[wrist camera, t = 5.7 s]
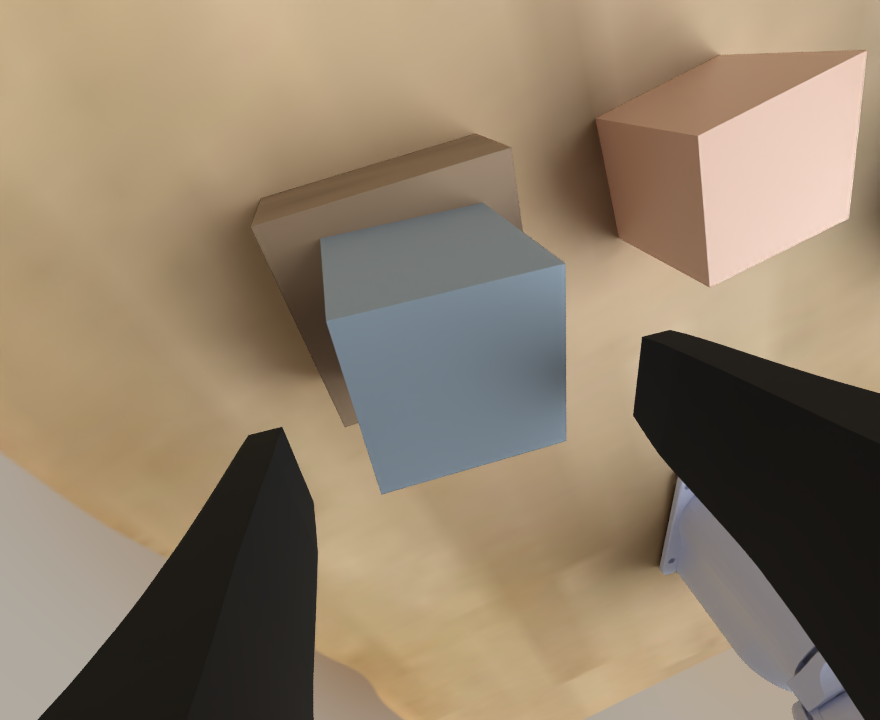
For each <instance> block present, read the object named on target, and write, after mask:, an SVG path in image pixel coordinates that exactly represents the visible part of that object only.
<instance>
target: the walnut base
mask: <svg viewBox="0 0 880 720" xmlns="http://www.w3.org/2000/svg"><path fill="white" fill-rule="evenodd" d="M479 203H484V204H486V205H487V206H488V207H490V208H491V209H492V210H494V211H495V212H496V213H498V214H499V215H501V216H502V217H503V218H505V219H506V220H507V221H509V222H510V223H511V224H513V225H514V226H515V227H517V228H518V229H519V230H521V231H522V232H523V230H522V223H521V216H520V208H519V201H518V194H517V186H516V179H515V172H514V164H513V157H512V150H511V147H509V146H506V145H504V144H501V143H498V142H496V141H493V140H491V139H488V138H486V137H483V136H481V135H478V134H473V135H469V136H466V137H463V138H460V139H456V140H453V141H450V142H446V143H443V144H440V145H436V146H433V147H430V148H426V149H423V150H420V151H416V152H413V153H410V154H406V155H403V156H400V157H396V158H393V159H390V160H386V161H383V162H380V163H377V164H373V165H370V166H367V167H363V168H360V169H357V170H353V171H350V172H347V173H343V174H340V175H337V176H333V177H330V178H327V179H323V180H320V181H317V182H313V183H310V184H307V185H304V186H300V187H297V188H294V189H290V190H287V191H284V192H280V193H277V194H274V195H270V196H267V197H264V198H261V200H260V203H259V206H258V208H257V211H256V214H255V216H254V219H253V222H252V224H251V229H252V231H253V233H254V235H255V237H256V239H257V242H258V244H259V246H260V248H261V250H262V252H263V254H264V256H265V259H266V261H267V263H268V265H269V267H270V269H271V271H272V273H273V276H274V278H275V280H276V282H277V284H278V286H279V288H280V290H281V293H282V295H283V297H284V299H285V301H286V303H287V305H288V307H289V310H290V312H291V314H292V316H293V318H294V320H295V322H296V324H297V327H298V329H299V331H300V333H301V335H302V337H303V339H304V341H305V344H306V346H307V348H308V350H309V352H310V354H311V356H312V358H313V361H314V363H315V365H316V367H317V369H318V371H319V373H320V375H321V378H322V380H323V382H324V384H325V386H326V388H327V390H328V392H329V395H330V397H331V399H332V401H333V403H334V405H335V407H336V409H337V412H338V414H339V416H340V418H341V420H342V422H343V424H344V427H347V426H350V425H353V424H356V423H358V419H357V416H356V413H355V410H354V407H353V404H352V401H351V398H350V394H349V391H348V388H347V385H346V382H345V379H344V376H343V373H342V369H341V366H340V363H339V360H338V357H337V354H336V351H335V348H334V344H333V341H332V338H331V335H330V332H329V329H328V326H327V323H326V313H325V299H324V285H323V271H322V257H321V243H320V238H324V237H329V236H333V235H338V234H343V233H347V232H352V231H356V230H361V229H365V228H370V227H374V226H379V225H383V224H388V223H393V222H397V221H402V220H406V219H411V218H415V217H420V216H424V215H429V214H433V213H438V212H443V211H447V210H452V209H456V208H461V207H465V206H470V205H474V204H479Z"/></svg>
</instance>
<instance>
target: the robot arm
mask: <svg viewBox="0 0 880 720" xmlns="http://www.w3.org/2000/svg"><path fill="white" fill-rule="evenodd" d="M633 416H634V417H635V419H636V421H637V422H638V424H639V425H640V427H641V428H642V430H643V431H644V433H645V435H646V436H647V438H648V439H649V441H650V442H651V443H652V445H653V446H654V448H655V449H656V451H657V452H658V453H659V455H660V456H661V457H662V458H663V460H664V461H665V462H666V463H667V464H668V465H669V467H670V468H671V469H672V470H673V471H674V472H675V473H676V475H677V476H678V479H677V484H676V489H675V494H674V499H673V503H672V508H671V513H670V518H669V523H668V528H667V533H666V538H665V543H664V548H663V553H662V558H661V563H660V567H659V568H660V570H661V572H662V573H663V574H665V575H667V574H671V573H674V572H677V573H678V574H679V575H680V577H681V578H682V579H683V581H684V582H685V583H686V585H687V586H688V588H689V589H690V590H691V592H692V593H693V594H694V596H695V597H696V598H697V600H698V601H699V603H700V604H701V605H702V607H703V608H704V609H705V611H706V612H707V613H708V615H709V616H710V618H711V619H712V620H713V622H714V623H715V624H716V626H717V627H718V628H719V630H720V631H721V633H722V634H723V635H724V637H725V638H726V639H727V641H728V642H729V643H730V645H731V646H732V648H733V649H734V650H735V652H736V653H737V654H738V655H739V657H740V658H741V659H742V660H743V661H744V662H745V663H746V664H747V665H748V666H749V667H750V668H751V669H752V670H753V671H755V672H756V673H757V674H758V675H760V676H761V677H763V678H764V679H766V680H767V681H769V682H771V683H772V684H774V685H776V686H778V687H780V688H783V689H785V690H788V691H791V692H793V693H794V694H795V696H796V697H797V698H798V699H799V701H798V702H796V703H795V704H793V707H792V713H793V718H794V720H880V393H876V392H873V391H869V390H866V389H862V388H859V387H855V386H852V385H848V384H844V383H841V382H837V381H834V380H830V379H827V378H824V377H820V376H817V375H814V374H810V373H807V372H804V371H801V370H798V369H794V368H791V367H788V366H785V365H782V364H779V363H776V362H772V361H769V360H766V359H763V358H760V357H757V356H754V355H751V354H748V353H745V352H742V351H739V350H736V349H733V348H730V347H727V346H724V345H720V344H717V343H714V342H711V341H708V340H705V339H701V338H698V337H695V336H691V335H688V334H684V333H680V332H676V331H672V330H668V331H664V332H660V333H656V334H652V335H648V336H644V337H642V343H641V352H640V360H639V369H638V378H637V387H636V395H635V404H634V413H633ZM317 565H318V548H317V535H316V523H315V512H314V502H313V500H312V497H311V495H310V492H309V490H308V488H307V485H306V483H305V480H304V478H303V476H302V473H301V471H300V468H299V466H298V464H297V461H296V459H295V456H294V454H293V452H292V449H291V447H290V444H289V442H288V440H287V437H286V435H285V432H284V430H283V428H282V427H280V428H276V429H272V430H268V431H264V432H260V433H256V434H252V435H248V437H247V438H246V440H245V441H244V443H243V445H242V446H241V448H240V449H239V451H238V452H237V454H236V455H235V457H234V459H233V460H232V462H231V464H230V465H229V467H228V468H227V470H226V472H225V473H224V475H223V477H222V478H221V480H220V481H219V483H218V485H217V486H216V488H215V489H214V491H213V493H212V494H211V496H210V497H209V499H208V501H207V502H206V504H205V505H204V507H203V508H202V510H201V511H200V513H199V514H198V516H197V517H196V519H195V520H194V522H193V524H192V525H191V527H190V528H189V530H188V531H187V533H186V534H185V536H184V537H183V539H182V540H181V542H180V543H179V545H178V546H177V547H176V549H175V550H174V552H173V553H172V554H171V556H170V557H169V559H168V560H167V561H166V563H165V564H164V566H163V567H162V568H161V570H160V571H159V573H158V574H157V576H156V577H155V579H154V580H153V581H152V582H151V584H150V585H149V587H148V588H147V590H146V591H145V592H144V594H143V595H142V596H141V598H140V599H139V600H138V601H137V603H136V604H135V606H134V607H133V608H132V609H131V611H130V612H129V613H128V614H127V616H126V617H125V618H124V620H123V621H122V622H121V623H120V625H119V626H118V627H117V628H116V630H115V631H114V632H113V633H112V634H111V636H110V637H109V638H108V639H107V640H106V642H105V643H104V644H103V645H102V647H101V648H100V649H99V650H98V651H97V653H96V654H95V655H94V656H93V657H92V659H91V660H90V661H89V662H88V664H87V665H86V666H85V667H84V668H83V669H82V671H81V672H80V673H79V674H78V675H77V676H76V678H75V679H74V680H73V681H72V683H70V685H69V686H68V687H67V688H66V689H65V690H64V691H63V692H62V694H61V695H60V696H59V697H58V698H57V699H56V700H55V701H54V702H53V703H52V705H51V706H50V707H49V708H48V709H47V710H46V711H45V712H44V713H43V714H42V715H41V717H40V718H39V719H38V720H314V718H313V672H314V647H315V621H316V595H317Z"/></svg>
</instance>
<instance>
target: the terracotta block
mask: <svg viewBox="0 0 880 720" xmlns="http://www.w3.org/2000/svg"><path fill="white" fill-rule="evenodd" d="M866 58H867V50H853V51H823V52H793V53H763V54H733V55H718V56H716V57H714V58H712V59H711V60H709V61H707V62H705V63H703V64H701V65H699V66H697V67H695V68H693V69H691V70H689V71H687V72H685V73H683V74H681V75H679V76H677V77H675V78H673V79H671V80H669V81H667V82H665V83H664V84H662V85H660V86H658V87H656V88H654V89H652V90H650V91H648V92H646V93H644V94H642V95H640V96H638V97H636V98H634V99H632V100H630V101H628V102H626V103H624V104H622V105H620V106H618V107H617V108H615V109H613V110H611V111H609V112H607V113H605V114H603V115H601V116H599V117H597V118H595V119H596V124H597V129H598V134H599V139H600V144H601V149H602V154H603V159H604V164H605V169H606V174H607V179H608V185H609V190H610V195H611V200H612V205H613V210H614V215H615V220H616V225H617V230H618V235H619V238H620V239H622V240H623V241H625V242H627V243H629V244H631V245H633V246H634V247H636V248H638V249H640V250H642V251H644V252H646V253H647V254H649V255H651V256H653V257H655V258H657V259H658V260H660V261H662V262H664V263H666V264H668V265H669V266H671V267H673V268H675V269H677V270H679V271H680V272H682V273H684V274H686V275H688V276H690V277H691V278H693V279H695V280H697V281H699V282H701V283H703V284H704V285H706V286H708V287H712V286H714V285H716V284H718V283H720V282H722V281H724V280H726V279H728V278H730V277H732V276H734V275H736V274H738V273H740V272H742V271H744V270H746V269H748V268H750V267H752V266H754V265H756V264H758V263H760V262H762V261H764V260H766V259H768V258H770V257H772V256H774V255H776V254H778V253H780V252H782V251H784V250H786V249H788V248H790V247H792V246H794V245H796V244H798V243H800V242H802V241H804V240H806V239H808V238H810V237H812V236H814V235H816V234H818V233H820V232H822V231H824V230H826V229H828V228H831V227H833V226H835V225H837V224H839V223H841V222H843V221H845V220H847V219H849V212H850V203H851V194H852V185H853V176H854V167H855V158H856V149H857V140H858V131H859V121H860V112H861V103H862V94H863V85H864V76H865V67H866Z"/></svg>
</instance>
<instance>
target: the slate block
mask: <svg viewBox="0 0 880 720" xmlns="http://www.w3.org/2000/svg"><path fill="white" fill-rule="evenodd" d="M320 243H321V257H322V271H323V285H324V299H325V313H326V323H327V326H328V329H329V332H330V335H331V338H332V341H333V344H334V348H335V351H336V354H337V357H338V360H339V363H340V366H341V369H342V373H343V376H344V379H345V382H346V385H347V388H348V391H349V394H350V398H351V401H352V404H353V407H354V410H355V413H356V416H357V419H358V423H359V426H360V429H361V432H362V435H363V438H364V441H365V444H366V448H367V451H368V454H369V457H370V460H371V463H372V466H373V469H374V473H375V476H376V479H377V482H378V485H379V488H380V491H381V494H385V493H388V492H392V491H395V490H399V489H402V488H406V487H409V486H412V485H416V484H419V483H423V482H426V481H430V480H433V479H437V478H440V477H444V476H447V475H450V474H454V473H457V472H461V471H464V470H468V469H471V468H475V467H478V466H482V465H485V464H489V463H492V462H495V461H499V460H502V459H506V458H509V457H513V456H516V455H520V454H523V453H527V452H530V451H533V450H537V449H540V448H544V447H547V446H551V445H554V444H558V443H561V442H565V441H566V276H565V263H564V262H563V261H561V260H560V259H559V258H557V257H556V256H555V255H553V254H552V253H551V252H549V251H548V250H547V249H545V248H544V247H542V246H541V245H540V244H538V243H537V242H536V241H534V240H533V239H532V238H530V237H529V236H528V235H526V234H525V233H524V232H522V231H521V230H519V229H518V228H517V227H515V226H514V225H513V224H511V223H510V222H509V221H507V220H506V219H505V218H503V217H502V216H501V215H499V214H498V213H496V212H495V211H494V210H492V209H491V208H490V207H488V206H487V205H486V204H484V203H479V204H474V205H470V206H465V207H461V208H456V209H452V210H447V211H443V212H438V213H433V214H429V215H424V216H420V217H415V218H411V219H406V220H402V221H397V222H393V223H388V224H383V225H379V226H374V227H370V228H365V229H361V230H356V231H352V232H347V233H343V234H338V235H333V236H329V237H324V238H320Z"/></svg>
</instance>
